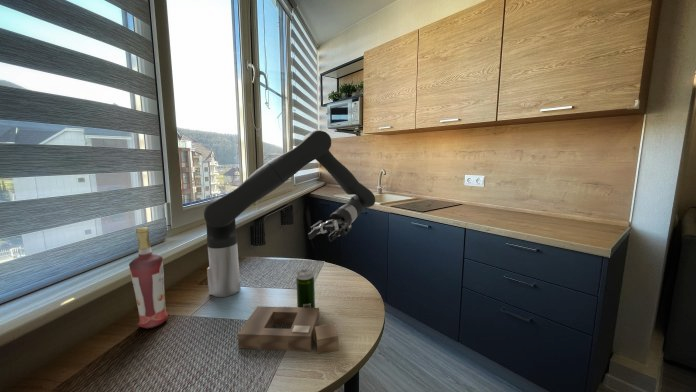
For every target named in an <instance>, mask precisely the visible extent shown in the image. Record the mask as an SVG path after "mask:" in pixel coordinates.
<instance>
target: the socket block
mask: <svg viewBox="0 0 696 392" xmlns="http://www.w3.org/2000/svg"><path fill="white" fill-rule="evenodd" d="M319 308H320V307H315V308H304V307H297V306H296V307H295V306H264V305H263V306H262V305H260V306H259V305H258V306H256V307H255V309H254V311H253V312H252V313H251V315H250V316H249V317H248V318H247V320H246V322H245V323H244V324H243V326H242V327H241V329H240V330H239V332H237V342H238V343H237V345H238V349H239V348H248V349H247V350H256V349H265V350H264V351H289V352H312V350H313V345H314V342H315V326H319V324H320V309H319ZM274 326H291V327H290V328H277V327H276V328H274Z"/></svg>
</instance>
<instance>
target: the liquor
mask: <svg viewBox="0 0 696 392" xmlns="http://www.w3.org/2000/svg"><path fill="white" fill-rule="evenodd" d="M135 233H136V237H137V240H138V256H137V257H135V258H134V259H132V260H131V262H129V263H128V266H129V271H130V277H131V283H132V285H133V289H134V295H135V300H136V305H137V309H138V310H137V311H138V317H139V322H138V323H137V325H138V326H139V327H141V328H143V329H147V330H149V328H150V329H154V327H155V328H156V327H159V326H160V325H162V324H163V323H165V322H166V320H167V319H168V318H169V313H168V312H167V309H166V294H165V293H166V292H165V273H164V272H165V271H164V260H163V256H161V255H159V254H155V253H153V251H152V246H151V243H150V229H149V227H147V226H146V227H145V226H144V227H138V228H136V229H135Z"/></svg>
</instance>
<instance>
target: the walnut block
mask: <svg viewBox="0 0 696 392" xmlns="http://www.w3.org/2000/svg"><path fill="white" fill-rule="evenodd" d="M314 342H315V347H316V352H317V355H321V354H322V355H323V354H326V353H327V354H328V353H332V352H337V351H339V334H338V331H337V329H336V325H335V323H328V324H322V325H318V326H315V338H314Z"/></svg>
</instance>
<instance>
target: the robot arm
mask: <svg viewBox="0 0 696 392" xmlns="http://www.w3.org/2000/svg"><path fill="white" fill-rule="evenodd" d="M331 147H332V138H331V136H330V134H328V133H327V131H323V130H319V129H317V130H314V131H310V132H308V133H307V134H306V135H304V137H303V139H302V142H300V143H299V144H298V145H297V146H295V147H294V148H292V149H290V150H288V151H286V152H284V153H282V154H280V155H278V156H275V157H274V158H272V159H271V160H268V161H267V162H266V163H264V164H263V165H261V166H260V167H259V168H257V169H256V170H255V171H253V172H252V173H251V174H249V176H248V177H247V178H246V179H245V180H244V181H243V182H242V183H241V184H240V185H239V186H237V187H236V188H235V189H232V190H231V191H230V192H228V193H227V194H225V195H223V196H221V197H215V198H212V199H210V200H209V201H208V202H207V203H206V205H205V208H204V211H203V218H204V221H205V223H206V225H205V226H206V245H207V254H208V265H209V266H208V267H207V268H206V273H207V274H206V275H207V286H208V294H209V295H211V296H213V297H215V298H226V297H229V296H233V295H235V294H236V293H238V292H239V291H240V290H241V279H240V278H241V276H240V265H239V252H238V251H239V250H238V248H239V247H238V237H237V223H236V219H237V218H238V217H239V216H240V215H242V213H244V212H245V210H247V209H248V208H249V207H250V206H252V205H253V204H255V203H256V202H258V201H260V200H261V199H263V198H264V197H266V196H267V195H268V194H271V192H273V191H275V190H276V189H277V188H279V187H280V186H282V185H283V184H285V183H286V182H287V181H288V180H289V179H291V178H292V177H293V176H294V175H295V174H297V173H298V172H299V171H300V170H302V169H303V168H304V167H305V166H307V165H308V164H310V163H311V162H313V161H315V160H316V161H317V162H318V163H319V164H320V165H321V166H322V167H323V168H324V169H325V170H326V172H327V173H328V174H329V175H331V177H332V178H333V179H334V180H335V182H336V183H337V185H339V186H340V188H341V189H342V190H343V191H344V192H345V194H347V195H351V196H352V197H351V198H350V199H349V200H348V201H347V202H346V203H345V204H344V205H342V206H340V207H339V208H338V209H336V210H335V211H333V212H332V213H331V214H330V215H329V218H328V220H326V221H325V222H323V220H320V219H319V220H318V221H317V222H315V223H314V224H313V225H312V226H310V230H311V231H310V232H308V233H307V237H308V240H312V239H314V238H315V237H316V236H318V235H320V234H323V235H324V234H326V233H328V232H329V234H328V235H327V239H328V241H329V242H333V241H334V240H335V239H337V237H340V236H341V235H342V237H346V235H347V234H348V233H349V232H350V231H351V230H352V228H353V227H352V223H354V221H355V220H356V219H357V218H358V217H359V216H360V215H361V214H362V213H363V210H365V209H368V208H371V207H373V206H374V205H375V204H376V196H375V194H374V193H373V192H372V191H371V190H370V189H369V188H367V187H366V186H365V185H364V184H362V183H360V181H359V180H358V179H357V178H356V176H354V174H353V173H352V172H351V171H350V170H349V169H348V168H347V166H345V164H343V163H341V162H340V160H338V159H337V158H336V157H335V156H334V155H333V154H332V153H331V151H330V148H331Z"/></svg>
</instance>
